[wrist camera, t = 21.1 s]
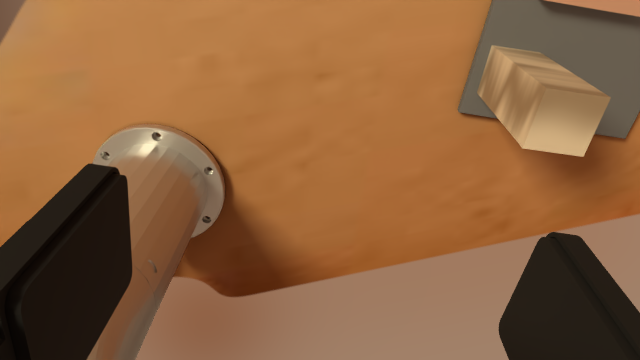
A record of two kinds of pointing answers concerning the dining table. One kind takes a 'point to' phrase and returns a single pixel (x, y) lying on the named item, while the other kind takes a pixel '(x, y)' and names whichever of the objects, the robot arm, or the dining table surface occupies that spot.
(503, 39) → the mat
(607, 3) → the tile
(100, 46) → the dining table surface
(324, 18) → the dining table surface
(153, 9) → the dining table surface
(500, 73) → the light wood block
